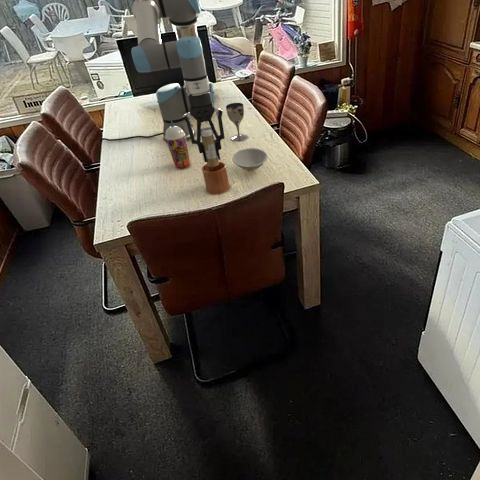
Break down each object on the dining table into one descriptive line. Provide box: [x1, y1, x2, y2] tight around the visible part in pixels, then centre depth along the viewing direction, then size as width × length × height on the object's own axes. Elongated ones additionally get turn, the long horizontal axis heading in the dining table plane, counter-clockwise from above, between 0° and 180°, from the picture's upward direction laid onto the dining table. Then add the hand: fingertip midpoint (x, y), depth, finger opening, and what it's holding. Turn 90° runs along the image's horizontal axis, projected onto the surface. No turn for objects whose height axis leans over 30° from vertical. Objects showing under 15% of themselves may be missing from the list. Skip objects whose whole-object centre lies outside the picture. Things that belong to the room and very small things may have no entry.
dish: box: [231, 147, 268, 171], centre depth 158 cm, size 18×14×5 cm
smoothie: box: [165, 119, 191, 170], centre depth 160 cm, size 8×8×20 cm
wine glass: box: [225, 102, 247, 142], centre depth 180 cm, size 8×8×15 cm
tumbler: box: [201, 161, 230, 195], centre depth 146 cm, size 9×9×9 cm
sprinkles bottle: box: [201, 126, 220, 167], centre depth 138 cm, size 5×5×14 cm
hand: (212, 159), depth 141 cm, fingers closed on sprinkles bottle, 4 cm apart
